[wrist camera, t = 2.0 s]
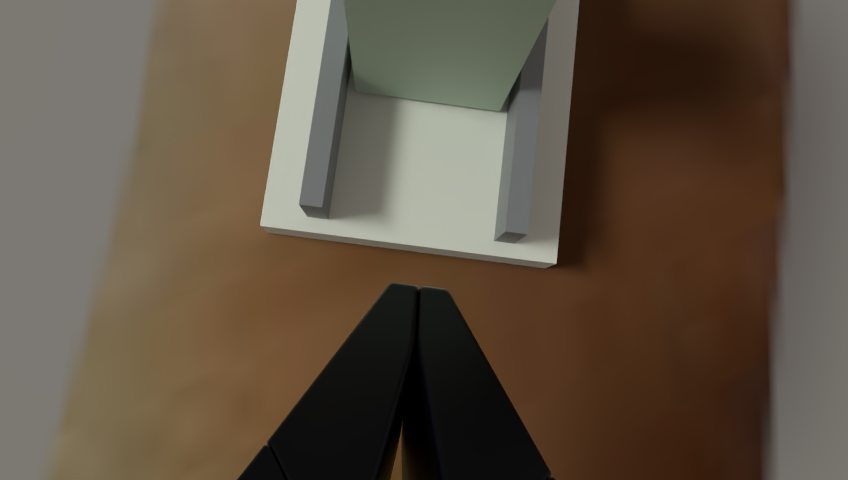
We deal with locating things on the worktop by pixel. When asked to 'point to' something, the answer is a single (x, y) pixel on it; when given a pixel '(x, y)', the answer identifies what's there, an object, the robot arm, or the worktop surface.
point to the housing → (420, 153)
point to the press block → (443, 47)
